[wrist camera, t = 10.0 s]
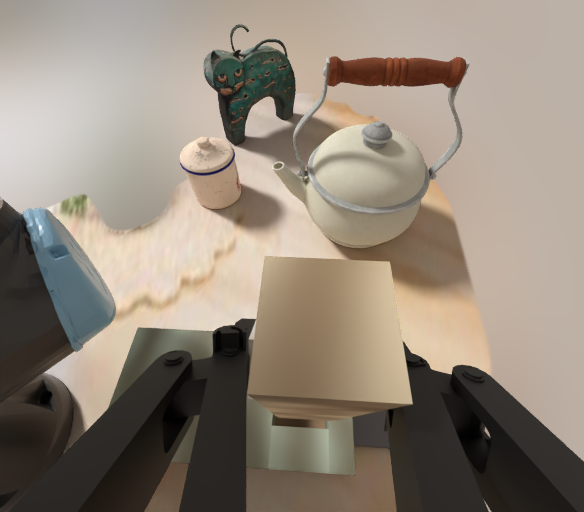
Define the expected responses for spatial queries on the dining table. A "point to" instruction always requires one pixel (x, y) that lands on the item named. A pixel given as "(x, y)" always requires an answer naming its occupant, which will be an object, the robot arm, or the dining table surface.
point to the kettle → (370, 157)
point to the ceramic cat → (249, 83)
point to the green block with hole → (249, 415)
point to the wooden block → (327, 340)
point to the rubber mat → (370, 430)
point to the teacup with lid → (211, 172)
